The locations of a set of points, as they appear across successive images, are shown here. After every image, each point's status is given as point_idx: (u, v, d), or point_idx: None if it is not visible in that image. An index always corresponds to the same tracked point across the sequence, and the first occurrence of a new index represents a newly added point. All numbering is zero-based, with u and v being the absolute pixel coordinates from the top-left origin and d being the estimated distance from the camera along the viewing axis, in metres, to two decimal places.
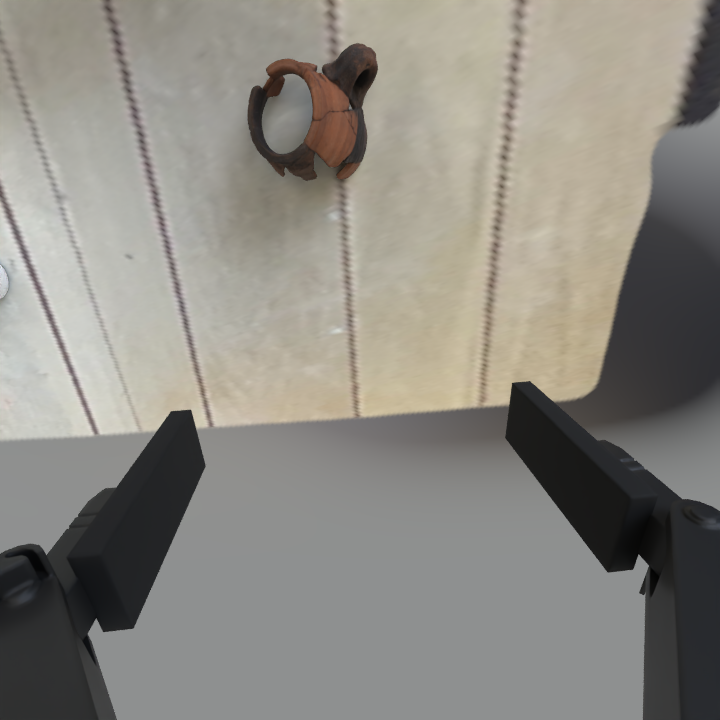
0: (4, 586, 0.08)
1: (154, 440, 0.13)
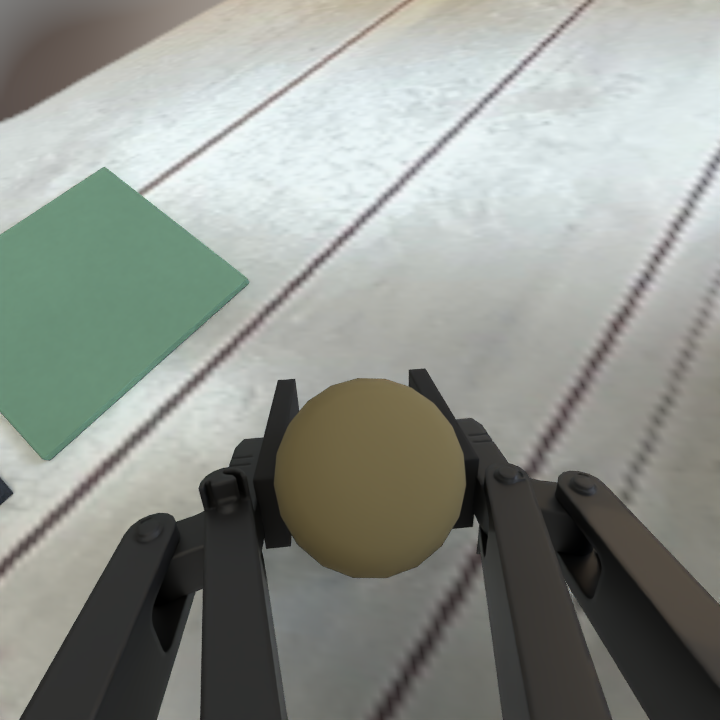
0: (219, 495, 0.10)
1: (276, 401, 0.15)
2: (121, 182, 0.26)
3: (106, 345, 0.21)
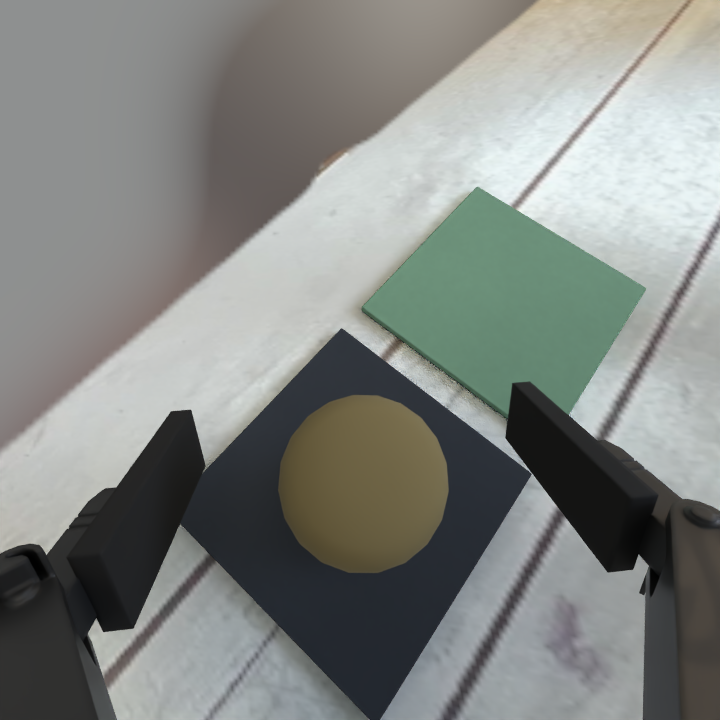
0: (5, 586, 0.08)
1: (154, 440, 0.13)
2: (499, 201, 0.29)
3: (555, 347, 0.24)
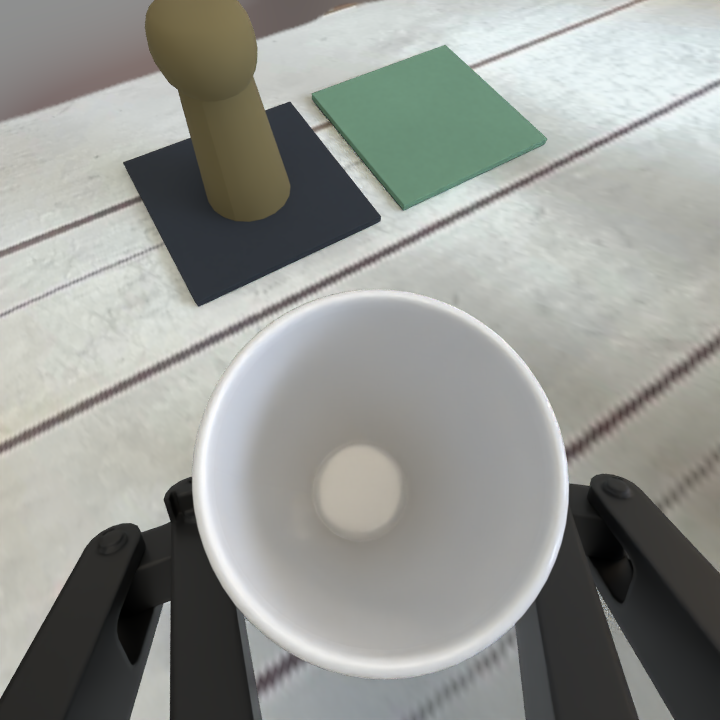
0: (186, 505, 0.10)
1: None
2: (457, 57, 0.34)
3: (446, 153, 0.30)
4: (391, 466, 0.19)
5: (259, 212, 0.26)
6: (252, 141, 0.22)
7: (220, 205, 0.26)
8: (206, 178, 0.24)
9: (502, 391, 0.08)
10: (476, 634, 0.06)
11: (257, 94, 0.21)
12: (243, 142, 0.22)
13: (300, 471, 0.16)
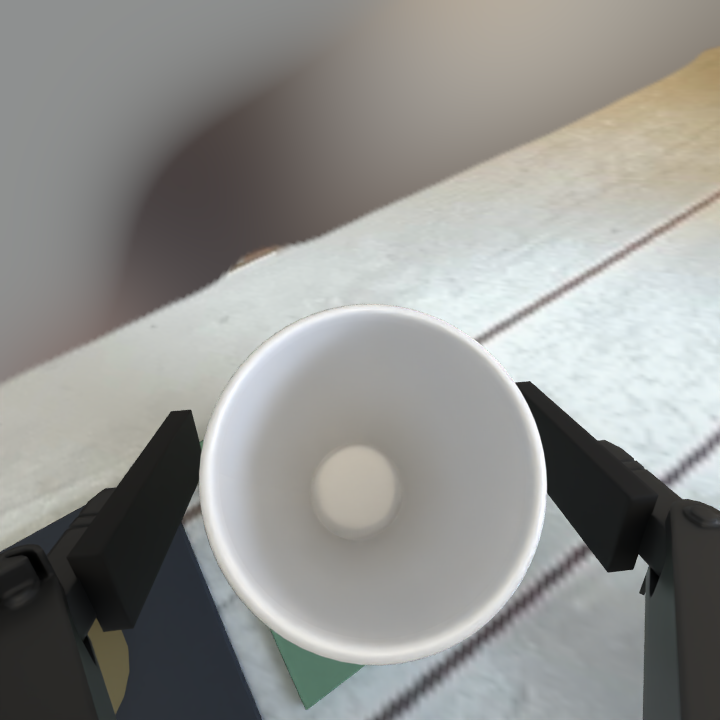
0: (4, 586, 0.08)
1: (154, 440, 0.13)
2: None
3: None
4: (387, 467, 0.20)
5: None
6: None
7: None
8: None
9: (488, 399, 0.09)
10: (460, 624, 0.06)
11: None
12: None
13: (298, 472, 0.16)
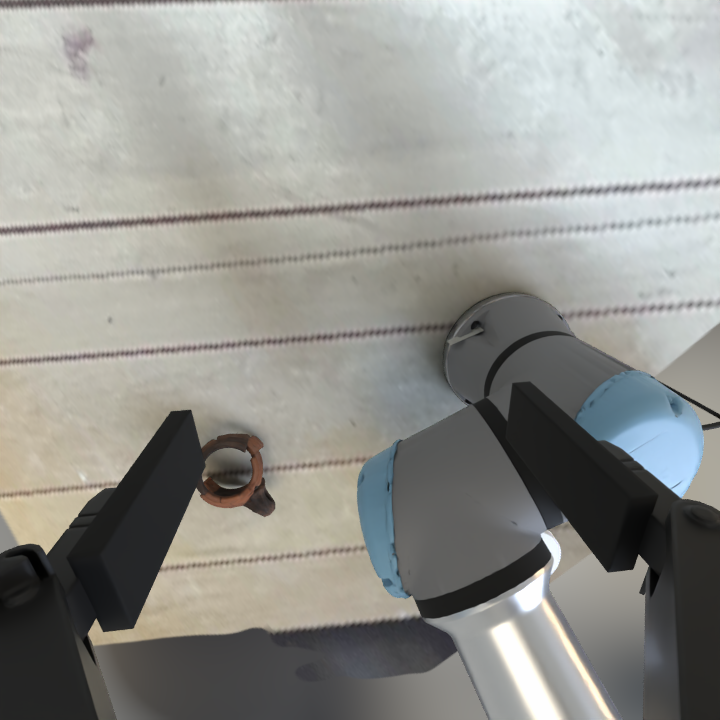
0: (4, 586, 0.08)
1: (154, 440, 0.13)
2: None
3: None
4: None
5: None
6: None
7: None
8: None
9: None
10: None
11: None
12: None
13: None
